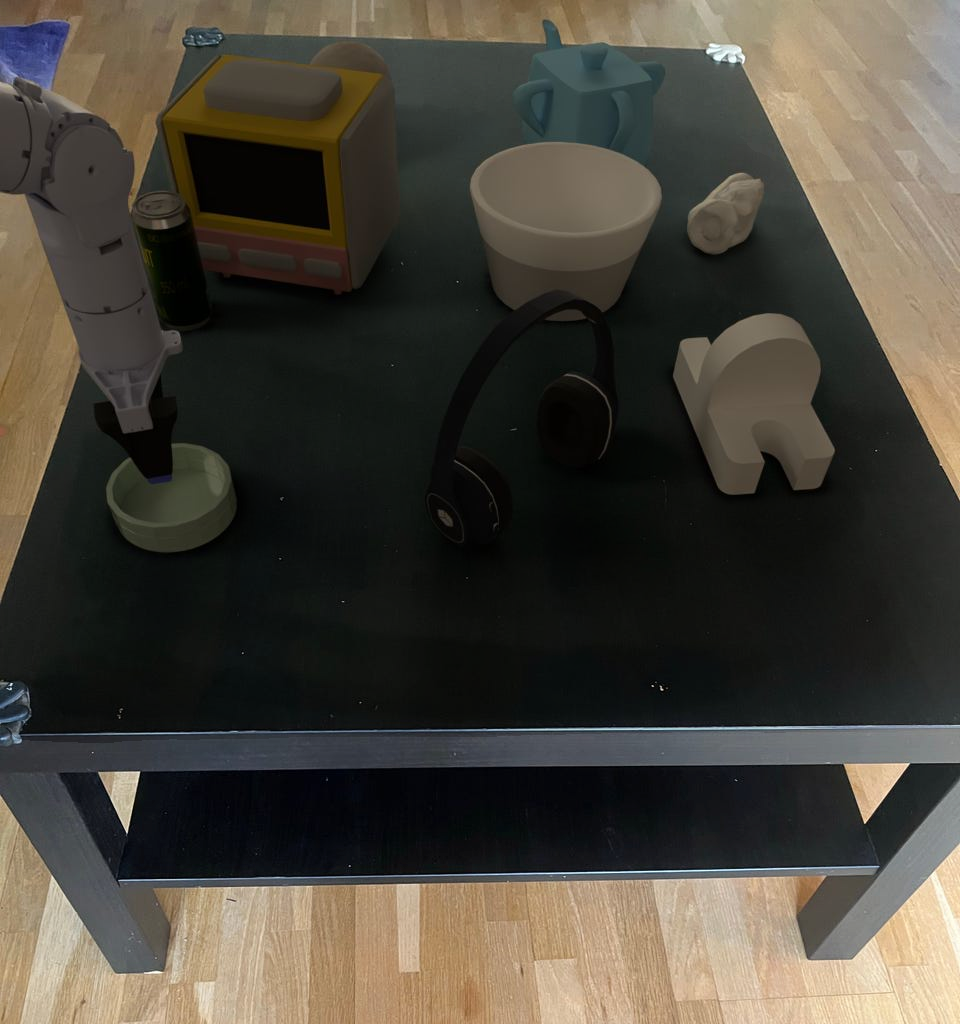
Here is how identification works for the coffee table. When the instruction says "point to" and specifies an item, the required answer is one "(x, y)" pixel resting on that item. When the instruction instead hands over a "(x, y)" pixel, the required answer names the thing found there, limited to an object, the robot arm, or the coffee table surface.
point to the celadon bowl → (174, 501)
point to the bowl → (562, 221)
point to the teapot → (589, 97)
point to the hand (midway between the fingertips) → (154, 446)
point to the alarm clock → (285, 169)
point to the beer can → (172, 259)
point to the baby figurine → (726, 214)
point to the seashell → (351, 58)
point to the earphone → (560, 425)
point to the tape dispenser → (755, 402)
